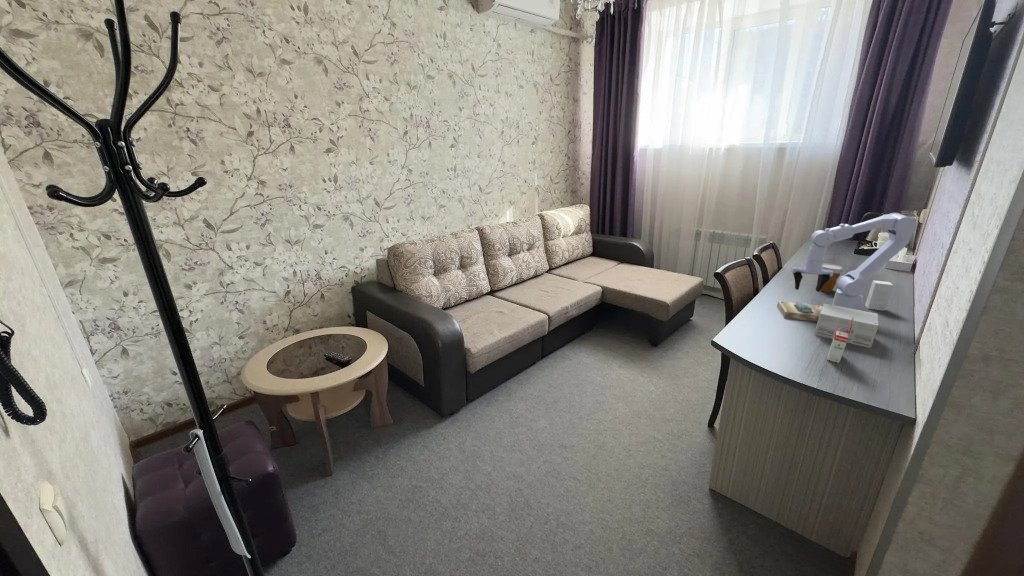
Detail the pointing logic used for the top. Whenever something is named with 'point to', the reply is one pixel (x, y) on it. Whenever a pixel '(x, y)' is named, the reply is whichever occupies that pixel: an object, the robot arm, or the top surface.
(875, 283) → the skincare box
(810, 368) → the top surface
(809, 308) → the servo block
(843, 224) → the robot arm
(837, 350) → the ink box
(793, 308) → the plate
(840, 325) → the supplement box
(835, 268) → the orange jar with lid
